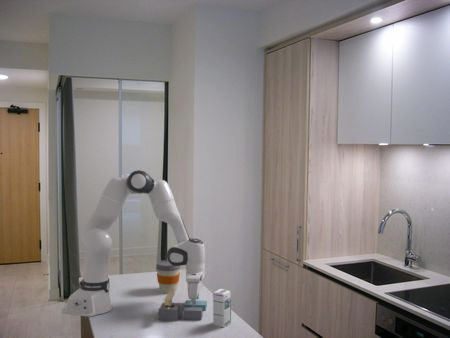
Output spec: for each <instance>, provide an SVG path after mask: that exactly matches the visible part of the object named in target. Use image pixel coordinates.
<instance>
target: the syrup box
mask: <svg viewBox="0 0 450 338" xmlns="http://www.w3.org/2000/svg"><path fill="white" fill-rule="evenodd" d="M231 294H232V292H231V290H229V289H224V288H219V289H217V290H216V291H213V292H212V320H213V321H212V323H213V325H214V326H215V327H220V328H226V327H227V326H229V325H231V323H232V305H231V303H232V300H231V299H232V298H231V297H232V296H231Z"/></svg>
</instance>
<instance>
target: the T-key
mask: <svg viewBox="0 0 450 338" xmlns="http://www.w3.org/2000/svg"><path fill="white" fill-rule="evenodd" d="M175 293H176V292H175V289H170V291H169V293H166V296H165V298H164V303H165V305H167V307H171V308H172V303H173V298H174V296H175Z"/></svg>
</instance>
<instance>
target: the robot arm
mask: <svg viewBox="0 0 450 338" xmlns="http://www.w3.org/2000/svg"><path fill="white" fill-rule="evenodd" d="M130 194H135V195H142V194H146V196H148V197H149V201H150V204H151V206H152V212H153V214H154V215H155V217H156V219H157V220H159V221H161V222H163V223H166V224H168V225H169V226H170V227H171V229H172V231H173V234H174V236H175V239H176V244H175V245H173V246H171V247H170V248H169V249H168V250H167V253H166V260H168V262H169V263H170V264H171V265H173V266H180V267H181V266H185V267H186V268H185V271H186V273H185V276H186V277H185V282H186V283H187V297H188V300H191V301H192V306H196V301H197V300H199V298H200V291H201V288H202V286H203V279H204V278H205V277H206V264H205V261H206V260H205V259H206V249H205V243H204V242H203V241H202V240H201V239H199V238H191V237H190V235H189V233H188V231H187V228H186V225H185V222H184V220H183V218H182V216H181V213H180V212H179V210H178V207H177V205H176V201H175V198H174V197H175V196H174V194H173V191H172V189H171V187H170V185H169V183H168V182H167V181H166V180H164V179H157V180H154V178H152V177H151V175H150V174H148V173H147V172H146V171H143V170H141V169H138V170H134V171H132V172H130V173H129V175H128V176H127V178H123V177H119V176H114V177H112V178H111V179H110V180H108V182H107V184H106V186H105V187H104V190H103V191H102V193H101V195H100V198H99V200H98V202H97V204H96V207H95V209H94V211H93V213H92V214H91V216H90V217H89V219H88V221H87V222H86V224H85V226H84V227H83V228H82V230H81V231H80V241H81V243H82V245H83V246H84V247H85V257H84V262H83V278H82V279H81V280H80V281H79V282H78V287H79V288H78V289H76V290H75V291H74V292H73V293H72V294H70V296H69V297H68V299H67V301H66V304H65V305H64V306H63V307H62V309H61V314H63V315H72V316H80V317H86V318H87V317H94V316H97V315H102V314H106V313H108V312H110V311H111V310H112V309H113V306H112V302H111V296H110V287H111V285H110V278H109V258H110V253H111V247H112V245H113V239H112V237H111V234H110V233H109V231H110V229H111V228H112V226H113V225H114V223H115V222H117V220H118V218H119V216H120V214H121V211H122V208H123V206H124V204H125V202H126V199H127V197H128V196H129V195H130Z"/></svg>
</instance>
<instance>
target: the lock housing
mask: <svg viewBox="0 0 450 338" xmlns="http://www.w3.org/2000/svg"><path fill="white" fill-rule="evenodd" d="M180 315H181V302H172V308H171V307H167V305H165V302H162V303H161V305H160V307H159V308H158V317H159V318H158V320H159V321H170V322H171V321H174V322H175V321H176V322H177V321H178V319H179V317H180ZM182 315H183V318H182V319H183V320H193V321H194V320H195V321H196V320H197V321H202V319H203V311H202V308H197V307H185V308H184V307H183V313H182Z"/></svg>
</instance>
